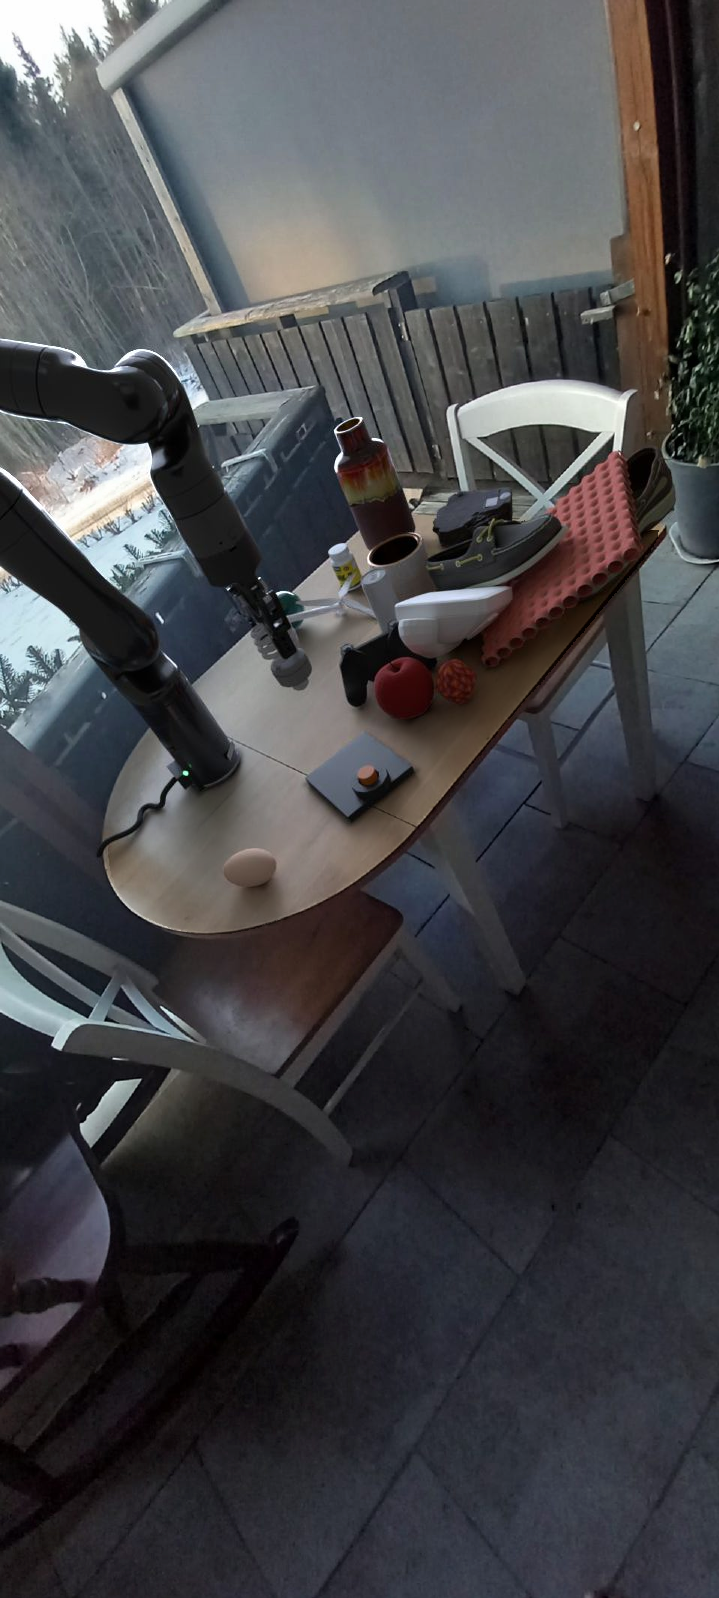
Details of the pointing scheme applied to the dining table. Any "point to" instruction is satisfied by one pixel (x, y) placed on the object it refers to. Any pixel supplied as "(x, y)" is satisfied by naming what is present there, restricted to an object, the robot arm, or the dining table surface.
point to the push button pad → (342, 781)
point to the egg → (250, 867)
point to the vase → (371, 484)
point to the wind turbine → (330, 605)
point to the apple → (404, 688)
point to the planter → (403, 564)
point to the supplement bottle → (345, 565)
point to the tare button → (367, 775)
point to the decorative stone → (455, 681)
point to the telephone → (448, 617)
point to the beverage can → (380, 596)
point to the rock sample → (471, 514)
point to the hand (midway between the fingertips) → (279, 647)
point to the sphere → (291, 605)
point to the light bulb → (288, 670)
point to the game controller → (373, 661)
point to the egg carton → (571, 557)
